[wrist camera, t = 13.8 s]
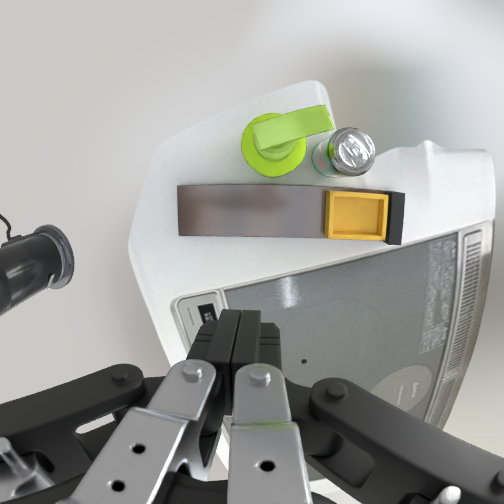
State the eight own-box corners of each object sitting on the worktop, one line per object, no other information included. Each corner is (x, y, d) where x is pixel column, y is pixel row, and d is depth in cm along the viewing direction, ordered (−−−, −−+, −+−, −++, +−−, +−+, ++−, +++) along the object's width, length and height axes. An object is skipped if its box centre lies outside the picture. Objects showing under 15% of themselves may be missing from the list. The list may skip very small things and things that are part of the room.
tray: (324, 235, 38) (328, 239, 35) (326, 190, 36) (330, 191, 34) (378, 236, 37) (385, 240, 35) (381, 194, 36) (388, 195, 33)
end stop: (380, 240, 37) (388, 244, 35) (383, 190, 36) (392, 191, 33) (392, 240, 37) (401, 245, 34) (396, 191, 36) (405, 193, 33)
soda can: (326, 184, 37) (351, 186, 26) (304, 154, 36) (319, 144, 25) (354, 163, 36) (387, 157, 25) (331, 134, 35) (357, 116, 24)
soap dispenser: (307, 167, 37) (345, 155, 17) (258, 183, 38) (248, 186, 18) (292, 127, 36) (315, 77, 16) (244, 143, 36) (219, 106, 17)
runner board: (181, 234, 40) (178, 235, 39) (179, 185, 38) (177, 185, 37) (392, 238, 38) (395, 240, 37) (395, 191, 37) (398, 192, 36)
